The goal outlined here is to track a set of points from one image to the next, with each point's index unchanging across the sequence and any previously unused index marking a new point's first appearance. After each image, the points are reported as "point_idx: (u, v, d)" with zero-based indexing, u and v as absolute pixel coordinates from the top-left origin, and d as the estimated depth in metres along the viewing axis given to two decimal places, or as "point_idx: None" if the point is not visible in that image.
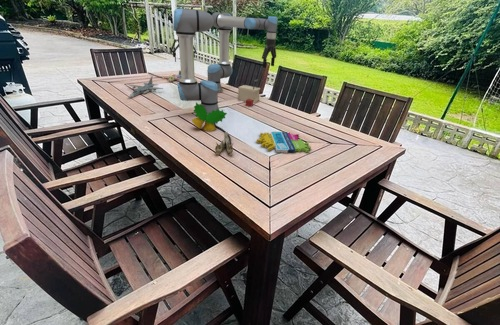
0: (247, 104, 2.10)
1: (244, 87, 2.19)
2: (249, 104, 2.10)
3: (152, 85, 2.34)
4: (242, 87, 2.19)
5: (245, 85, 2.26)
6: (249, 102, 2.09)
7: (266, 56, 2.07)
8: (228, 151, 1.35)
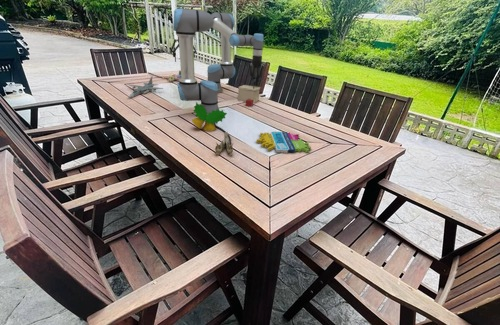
0: (247, 104, 2.10)
1: (244, 87, 2.19)
2: (249, 104, 2.10)
3: (152, 85, 2.34)
4: (242, 87, 2.19)
5: (245, 85, 2.26)
6: (249, 102, 2.09)
7: None
8: (228, 151, 1.35)
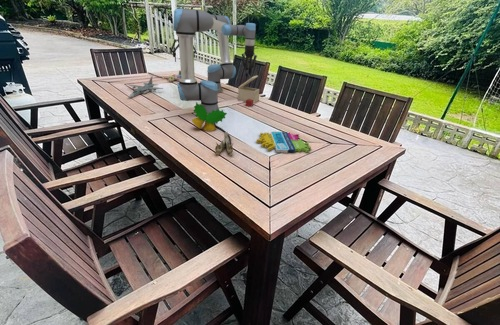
0: (247, 104, 2.10)
1: (243, 83, 2.18)
2: (249, 104, 2.10)
3: (152, 85, 2.34)
4: None
5: None
6: (249, 102, 2.09)
7: None
8: (228, 151, 1.35)
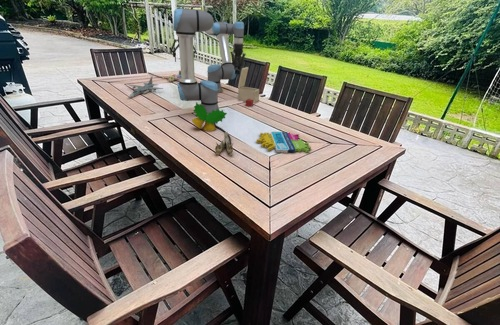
0: (247, 104, 2.10)
1: None
2: (249, 104, 2.10)
3: (152, 85, 2.34)
4: (239, 83, 2.19)
5: None
6: (249, 102, 2.09)
7: None
8: (228, 151, 1.35)
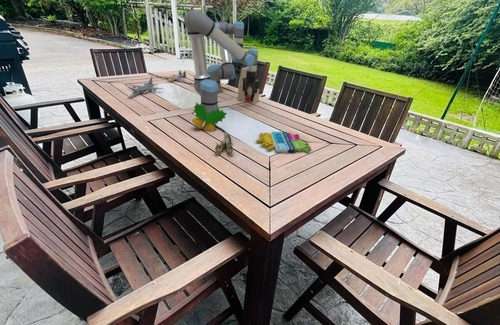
0: (247, 100, 2.08)
1: None
2: (249, 100, 2.08)
3: (152, 85, 2.34)
4: (239, 83, 2.19)
5: None
6: (249, 98, 2.07)
7: (240, 63, 2.16)
8: (228, 151, 1.35)
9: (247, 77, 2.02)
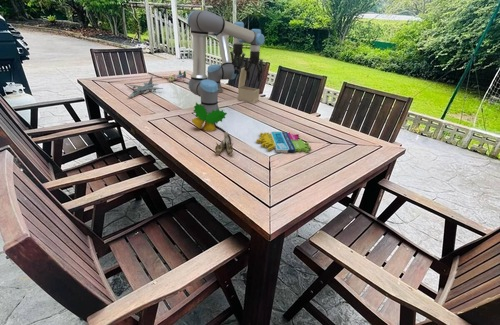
0: None
1: None
2: None
3: (152, 85, 2.34)
4: (239, 83, 2.19)
5: None
6: None
7: None
8: (228, 151, 1.35)
9: (251, 57, 2.08)
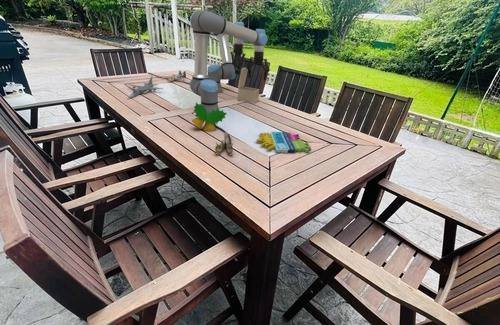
0: None
1: None
2: None
3: (152, 85, 2.34)
4: (239, 83, 2.19)
5: None
6: None
7: None
8: (228, 151, 1.35)
9: (255, 58, 2.06)
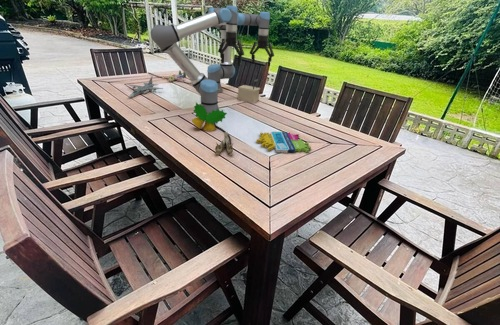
0: None
1: (244, 87, 2.19)
2: None
3: (152, 85, 2.34)
4: (242, 87, 2.19)
5: (245, 85, 2.26)
6: None
7: (270, 54, 2.02)
8: (228, 151, 1.35)
9: (227, 39, 1.82)
